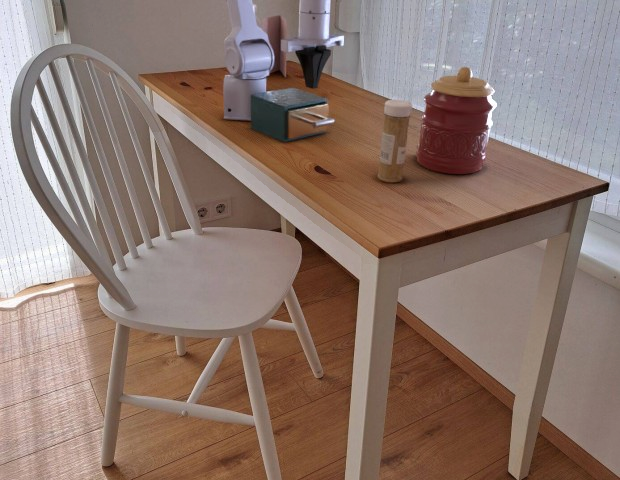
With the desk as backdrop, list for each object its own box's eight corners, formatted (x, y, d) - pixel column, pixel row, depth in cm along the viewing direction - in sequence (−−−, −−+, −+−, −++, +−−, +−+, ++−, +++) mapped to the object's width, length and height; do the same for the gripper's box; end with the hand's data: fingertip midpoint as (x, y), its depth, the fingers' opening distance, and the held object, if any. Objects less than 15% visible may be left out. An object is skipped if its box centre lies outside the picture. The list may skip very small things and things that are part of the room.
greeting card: (276, 68, 179) (277, 14, 171) (299, 71, 177) (300, 16, 169) (259, 75, 170) (259, 18, 162) (282, 79, 168) (283, 21, 160)
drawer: (342, 136, 123) (344, 109, 120) (305, 145, 117) (306, 117, 114) (295, 119, 132) (296, 93, 129) (258, 126, 126) (258, 99, 123)
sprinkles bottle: (406, 182, 104) (416, 105, 97) (381, 184, 103) (390, 105, 96) (397, 173, 108) (406, 98, 101) (373, 174, 107) (381, 98, 100)
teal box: (325, 132, 127) (327, 98, 123) (283, 142, 120) (284, 106, 117) (292, 120, 134) (293, 87, 130) (250, 128, 127) (250, 94, 123)
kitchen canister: (411, 150, 119) (424, 58, 110) (475, 154, 119) (494, 61, 110) (419, 173, 108) (434, 73, 99) (490, 177, 108) (511, 77, 99)
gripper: (299, 17, 103) (296, 96, 111) (357, 12, 112) (351, 86, 119) (274, 11, 108) (273, 88, 115) (331, 8, 116) (327, 79, 123)
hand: (311, 87), depth 117 cm, fingers closed
